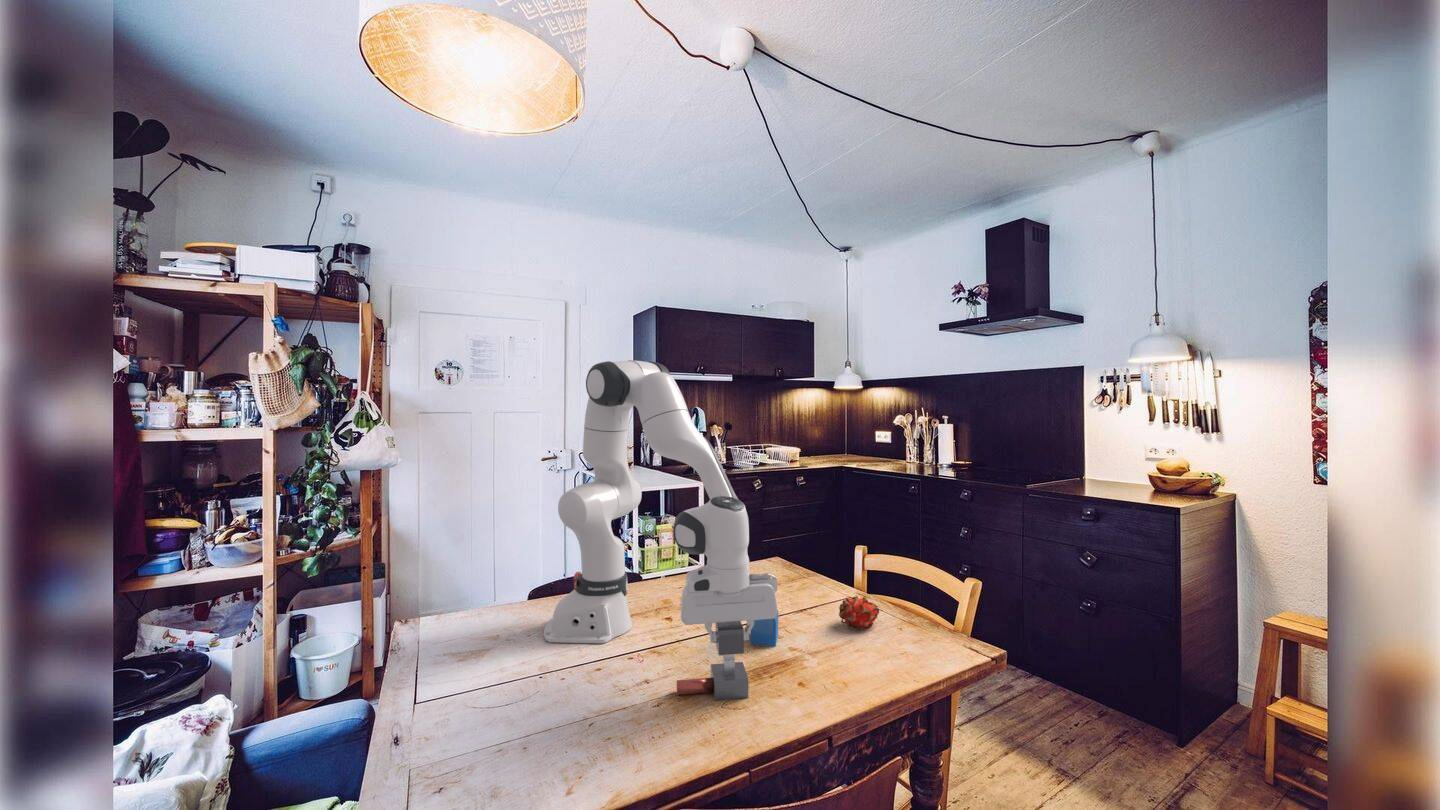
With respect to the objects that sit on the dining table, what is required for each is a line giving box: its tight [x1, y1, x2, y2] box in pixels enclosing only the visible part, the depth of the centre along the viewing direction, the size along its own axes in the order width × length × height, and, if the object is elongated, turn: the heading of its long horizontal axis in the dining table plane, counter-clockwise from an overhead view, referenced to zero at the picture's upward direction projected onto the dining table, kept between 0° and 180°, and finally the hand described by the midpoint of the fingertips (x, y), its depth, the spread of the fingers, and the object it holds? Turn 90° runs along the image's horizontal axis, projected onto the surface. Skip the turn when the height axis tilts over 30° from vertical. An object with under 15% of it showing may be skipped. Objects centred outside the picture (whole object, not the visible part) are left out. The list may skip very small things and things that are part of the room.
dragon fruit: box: [838, 595, 880, 631], centre depth 153 cm, size 8×8×12 cm
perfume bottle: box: [750, 609, 779, 647], centre depth 145 cm, size 6×6×12 cm
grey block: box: [714, 621, 745, 656], centre depth 123 cm, size 5×5×5 cm
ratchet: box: [676, 654, 749, 701], centre depth 123 cm, size 14×7×7 cm, turn 97°
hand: (729, 640), depth 123 cm, fingers closed on grey block, 5 cm apart
